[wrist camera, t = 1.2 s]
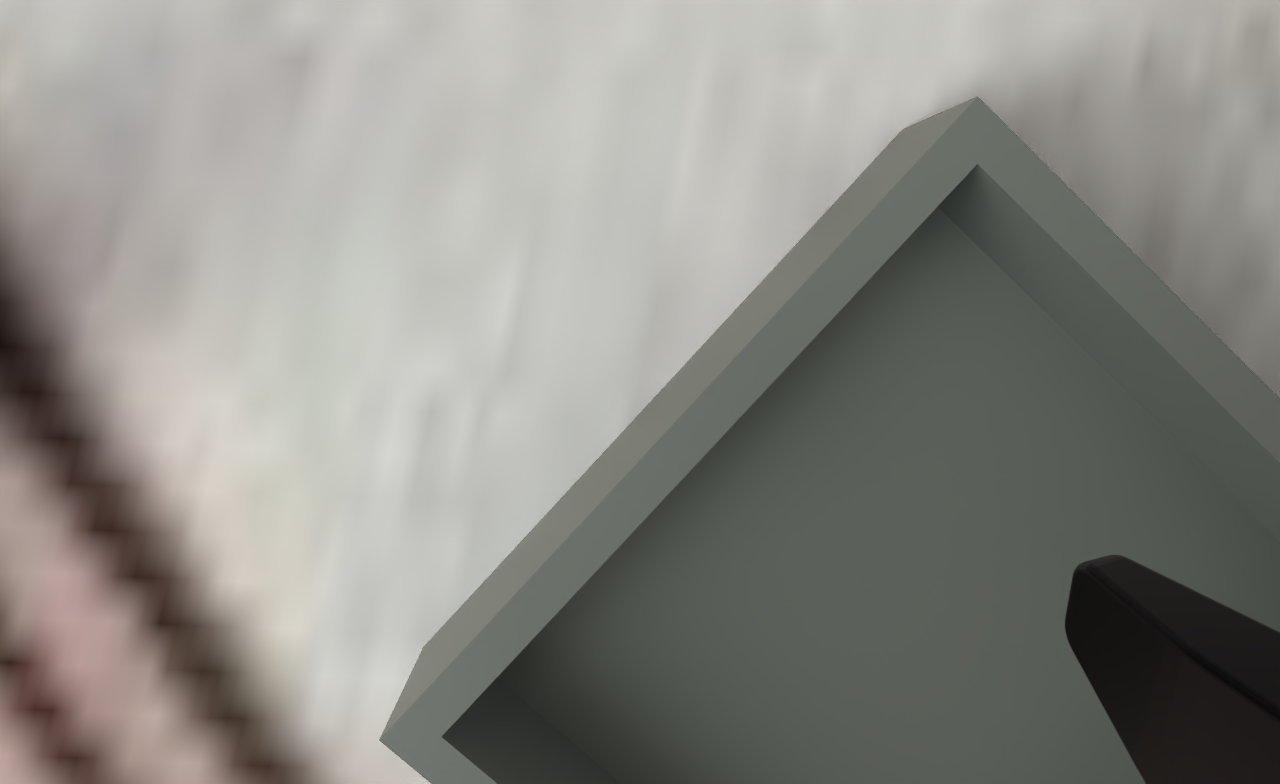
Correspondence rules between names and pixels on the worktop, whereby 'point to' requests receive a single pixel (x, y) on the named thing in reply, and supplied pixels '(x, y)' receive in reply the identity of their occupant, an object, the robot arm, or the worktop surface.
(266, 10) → the worktop surface
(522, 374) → the worktop surface
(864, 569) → the tote
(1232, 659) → the robot arm
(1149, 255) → the worktop surface
